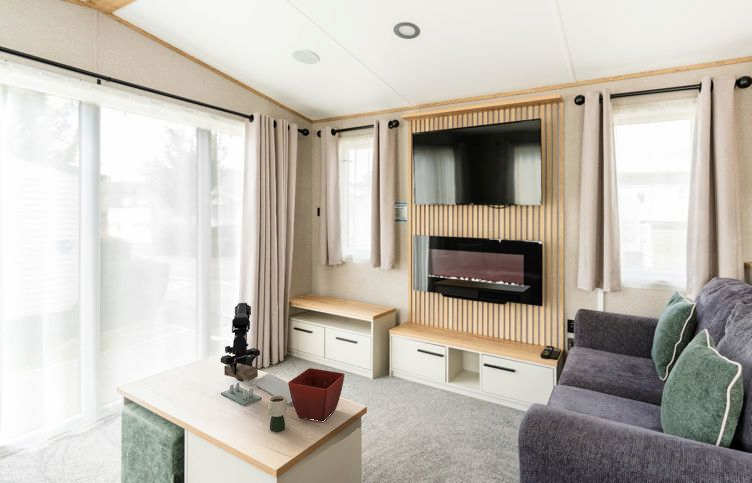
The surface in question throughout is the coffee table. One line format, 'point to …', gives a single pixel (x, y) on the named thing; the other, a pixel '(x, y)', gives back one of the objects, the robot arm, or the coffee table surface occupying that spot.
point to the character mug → (277, 412)
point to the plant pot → (316, 393)
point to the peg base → (241, 395)
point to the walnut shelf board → (242, 372)
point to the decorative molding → (274, 386)
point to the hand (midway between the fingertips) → (241, 373)
